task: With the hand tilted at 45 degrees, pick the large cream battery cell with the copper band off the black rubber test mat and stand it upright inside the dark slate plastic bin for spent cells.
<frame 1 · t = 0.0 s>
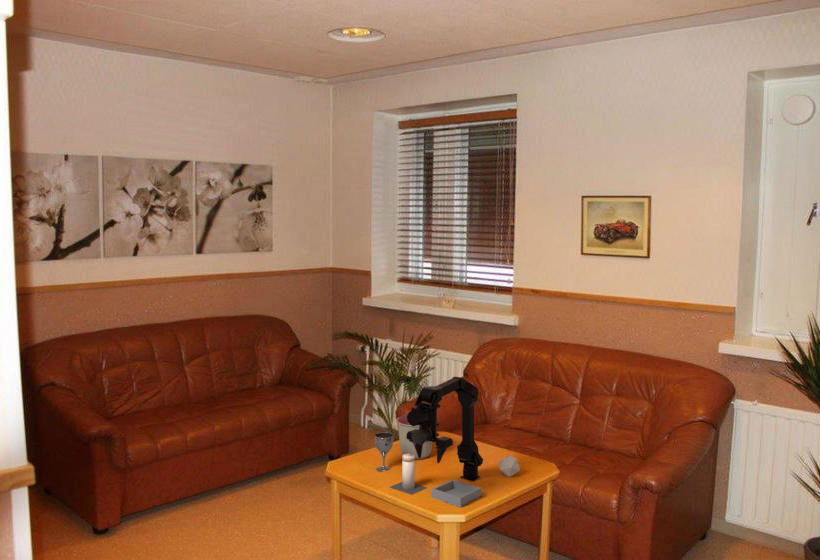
hand: (428, 460, 282), 15 cm above the table, tool pointing down, fingers open, 9 cm apart
bin: (456, 497, 283), on the table
test mat: (408, 488, 292), on the table
cell: (408, 487, 292), resting on test mat
canister: (415, 456, 332), on the table
wine glass: (383, 469, 314), on the table
die: (509, 475, 309), on the table
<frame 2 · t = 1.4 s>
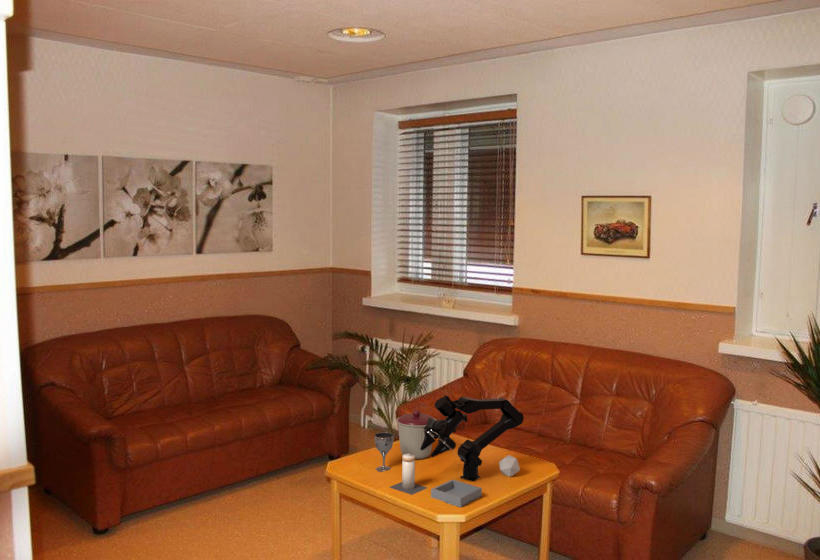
hand: (426, 453, 294), 13 cm above the table, tool tilted 45°, fingers open, 9 cm apart
nothing on the table moved.
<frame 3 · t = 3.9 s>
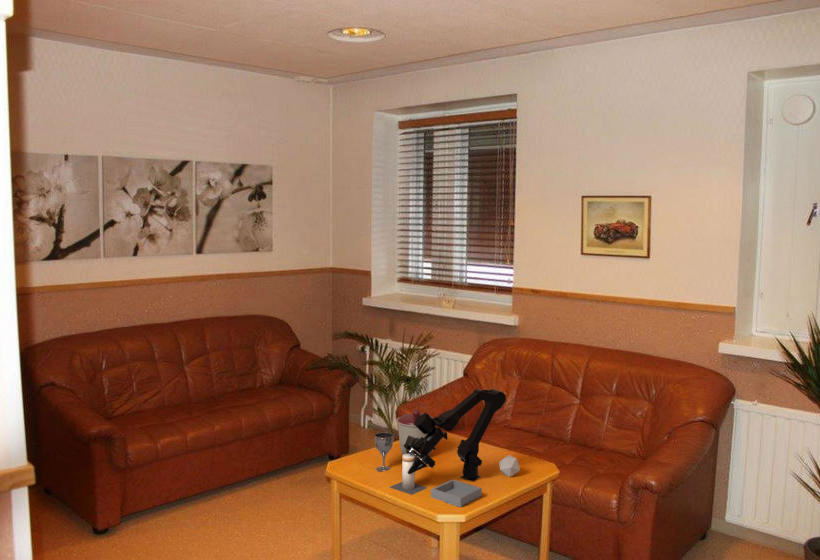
hand: (405, 471, 291), 7 cm above the table, tool tilted 45°, fingers closed on cell, 5 cm apart
cell: (408, 487, 292), resting on test mat, touching gripper
everything else where it was.
when the fingers open (9 cm above the table, at t = 8.2 s): cell drops 1 cm, resting on bin.
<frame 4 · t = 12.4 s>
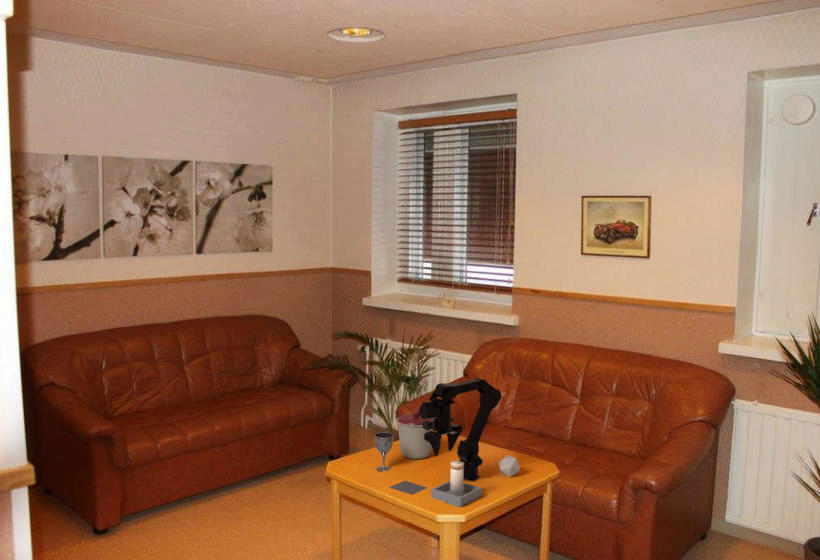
hand: (443, 453, 295), 13 cm above the table, tool pointing down, fingers open, 9 cm apart
cell: (456, 495, 283), point 1 cm above the table, touching bin
everything else where it was.
at the end: cell inside the target area on the bin (0.0 cm from its centre), point 0.6 cm above the bin's base; cell tilted 0°; the gripper is holding nothing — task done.
